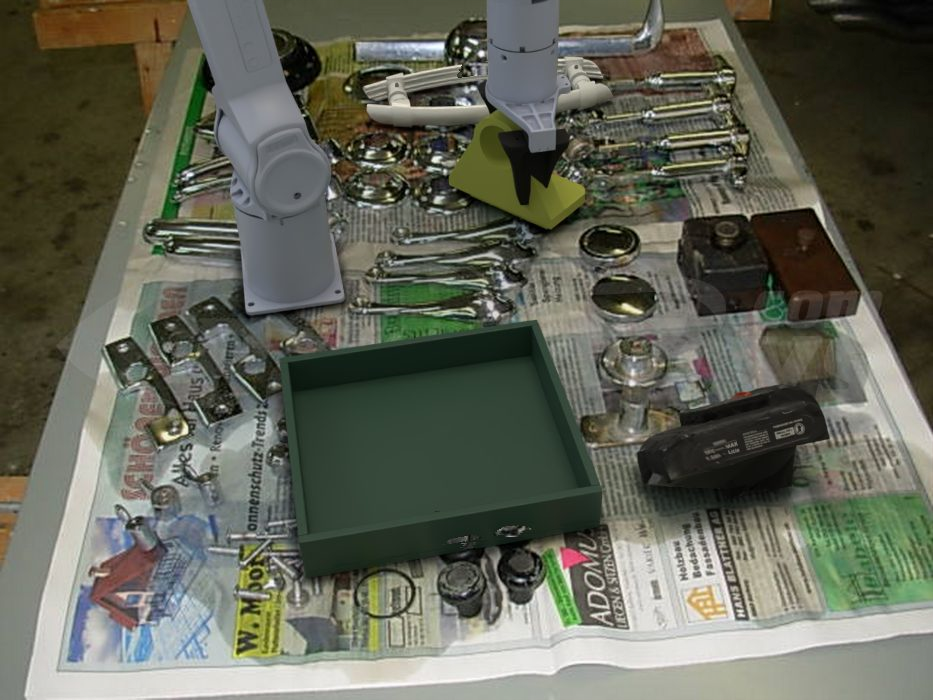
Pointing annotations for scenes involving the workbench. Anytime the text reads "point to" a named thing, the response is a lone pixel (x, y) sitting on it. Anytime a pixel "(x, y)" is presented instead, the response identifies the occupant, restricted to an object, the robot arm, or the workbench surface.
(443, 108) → the door handle
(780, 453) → the battery
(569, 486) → the parts tray
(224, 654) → the workbench surface
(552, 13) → the robot arm
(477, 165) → the bracket
